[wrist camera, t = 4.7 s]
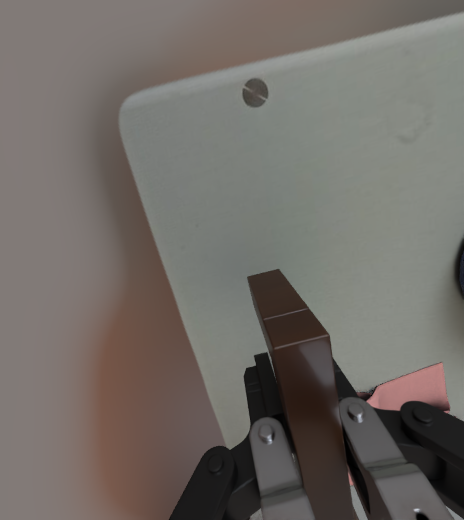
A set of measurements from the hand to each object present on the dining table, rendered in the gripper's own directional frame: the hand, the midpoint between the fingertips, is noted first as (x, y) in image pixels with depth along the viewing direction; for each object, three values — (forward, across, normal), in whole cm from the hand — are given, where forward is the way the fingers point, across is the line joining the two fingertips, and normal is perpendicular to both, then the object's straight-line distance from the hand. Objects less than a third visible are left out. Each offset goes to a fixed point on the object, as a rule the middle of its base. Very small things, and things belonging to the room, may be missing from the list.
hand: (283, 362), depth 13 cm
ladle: (+1, 0, +5) cm, 5 cm away
